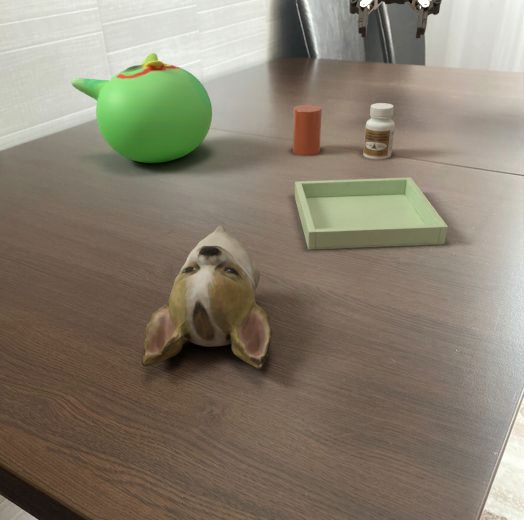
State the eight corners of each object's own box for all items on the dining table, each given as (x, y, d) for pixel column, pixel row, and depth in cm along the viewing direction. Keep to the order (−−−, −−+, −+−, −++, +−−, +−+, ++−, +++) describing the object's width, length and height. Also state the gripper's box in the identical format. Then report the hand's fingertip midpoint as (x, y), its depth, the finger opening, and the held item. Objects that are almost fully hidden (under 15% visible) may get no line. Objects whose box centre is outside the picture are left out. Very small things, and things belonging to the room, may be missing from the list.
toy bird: (147, 186, 80) (130, 74, 71) (82, 161, 89) (60, 60, 80) (234, 155, 90) (230, 54, 81) (168, 136, 99) (157, 44, 91)
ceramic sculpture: (277, 209, 50) (267, 306, 39) (278, 288, 56) (270, 393, 44) (162, 209, 51) (119, 304, 40) (174, 287, 57) (140, 390, 45)
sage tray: (408, 195, 75) (411, 177, 74) (444, 247, 63) (448, 226, 61) (294, 199, 75) (294, 181, 73) (308, 252, 63) (308, 231, 61)
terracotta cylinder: (317, 148, 92) (319, 104, 88) (321, 157, 89) (323, 111, 84) (291, 149, 92) (292, 105, 88) (294, 158, 89) (294, 112, 84)
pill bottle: (360, 160, 87) (364, 108, 83) (366, 151, 91) (371, 101, 86) (387, 162, 86) (394, 110, 81) (393, 154, 89) (399, 103, 85)
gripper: (357, -77, 87) (345, 16, 85) (451, -79, 84) (441, 17, 83) (357, -38, 94) (346, 49, 92) (443, -39, 92) (433, 51, 90)
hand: (390, 34), depth 87 cm, fingers open, 8 cm apart
